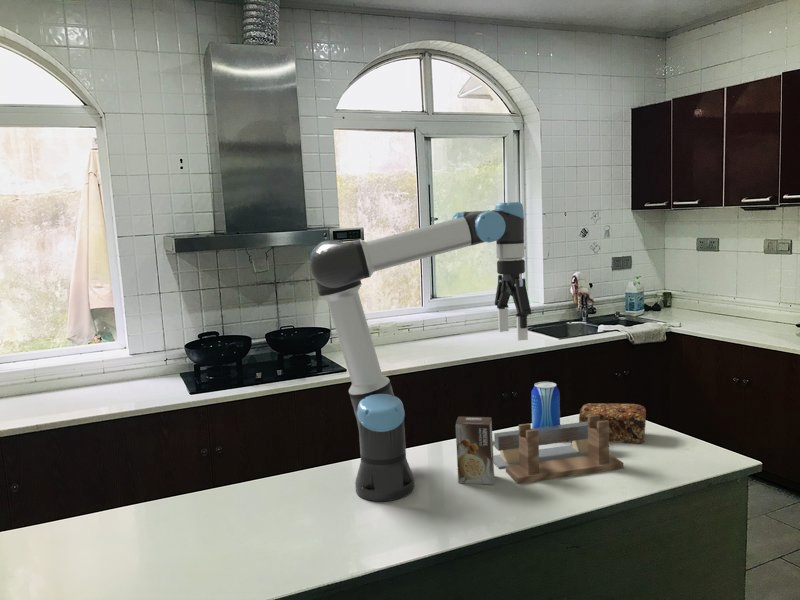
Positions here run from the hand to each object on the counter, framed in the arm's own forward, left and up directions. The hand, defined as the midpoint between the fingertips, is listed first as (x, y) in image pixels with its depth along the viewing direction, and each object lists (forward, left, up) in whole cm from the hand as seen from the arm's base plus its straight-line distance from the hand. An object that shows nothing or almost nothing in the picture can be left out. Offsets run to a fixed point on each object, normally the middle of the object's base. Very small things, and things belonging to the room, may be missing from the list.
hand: (512, 335), depth 178 cm
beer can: (+15, +12, -35) cm, 40 cm away
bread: (+33, +4, -35) cm, 48 cm away
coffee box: (-16, -12, -35) cm, 40 cm away
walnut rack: (+8, -14, -35) cm, 38 cm away
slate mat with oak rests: (+8, -4, -35) cm, 36 cm away
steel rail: (+8, -4, -31) cm, 32 cm away
